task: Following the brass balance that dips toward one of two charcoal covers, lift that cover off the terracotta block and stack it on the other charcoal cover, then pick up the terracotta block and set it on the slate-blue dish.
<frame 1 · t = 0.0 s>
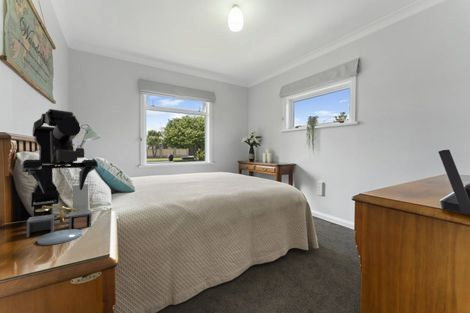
hand: (63, 191, 66), 15 cm above the nightstand, tool pointing down, fingers open, 9 cm apart
dish: (60, 238, 67), on the nightstand
block: (80, 221, 79), in the covering hood
empty hood: (41, 232, 72), on the nightstand
balance: (61, 223, 83), on the nightstand
covering hood: (80, 226, 79), on the nightstand
skincare box: (81, 216, 93), on the nightstand
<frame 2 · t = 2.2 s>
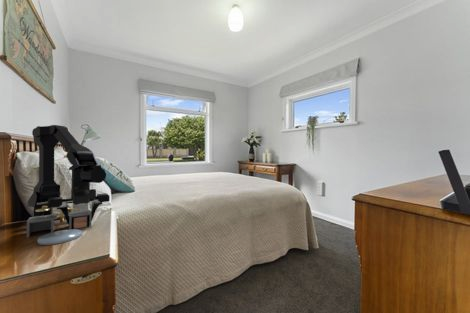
hand: (80, 222, 79), 2 cm above the nightstand, tool pointing down, fingers closed on covering hood, 7 cm apart
covering hood: (80, 226, 79), on the nightstand, touching gripper
everything else where it was.
when the fingers open (8 cm above the nightstand, at t = 5.9 s): covering hood stays where it is, resting on empty hood.
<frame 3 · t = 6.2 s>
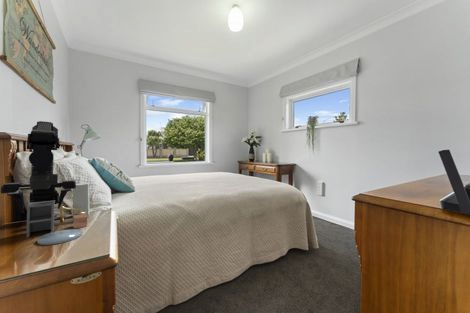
hand: (41, 210, 72), 8 cm above the nightstand, tool pointing down, fingers open, 9 cm apart
empty hood: (41, 232, 72), on the nightstand, touching covering hood
covering hood: (41, 217, 72), point 5 cm above the nightstand, touching empty hood
everything else where it was.
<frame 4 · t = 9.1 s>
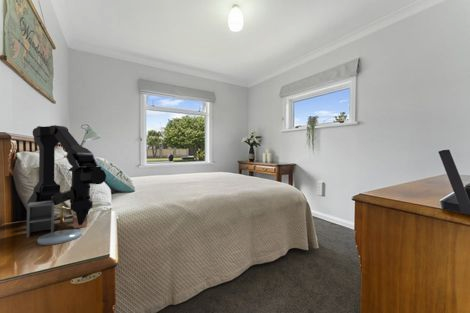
hand: (80, 223, 79), 1 cm above the nightstand, tool pointing down, fingers closed on block, 4 cm apart
block: (80, 221, 79), on the nightstand, touching gripper
everything else where it was.
when the fingers open (4 cm above the nightstand, at t = 13.0 s): block drops 2 cm, resting on dish.
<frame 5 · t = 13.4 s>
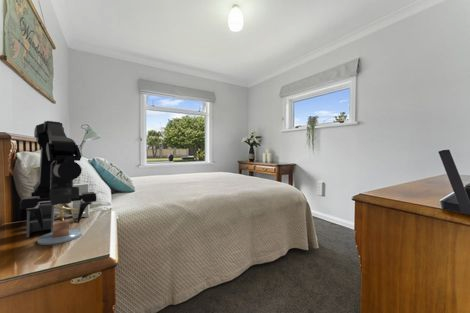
hand: (61, 225, 67), 4 cm above the nightstand, tool pointing down, fingers open, 9 cm apart
block: (61, 228, 67), on the dish, point 3 cm above the nightstand
everything else where it was.
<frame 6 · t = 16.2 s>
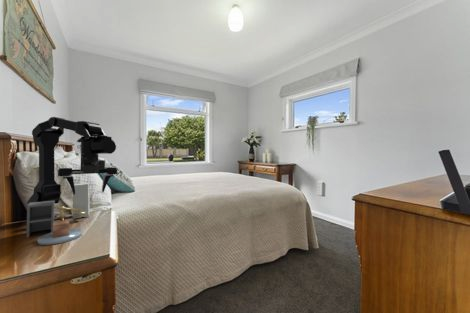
hand: (89, 193, 81), 12 cm above the nightstand, tool pointing down, fingers open, 9 cm apart
nothing on the nightstand moved.
at the end: block 0.1 cm off-centre on the dish, point 3.0 cm above the dish's base; block tilted 0°; covering hood point 5.2 cm above the nightstand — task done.
